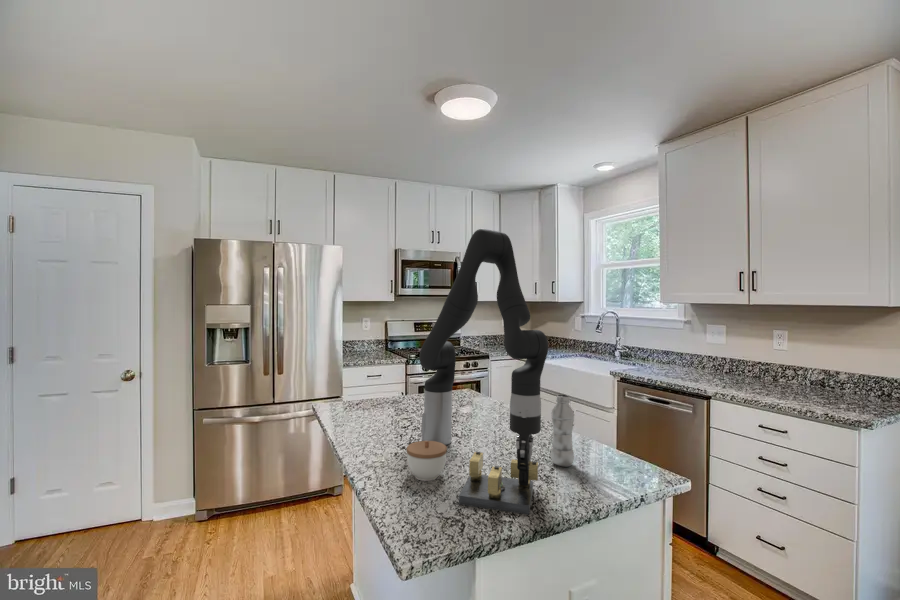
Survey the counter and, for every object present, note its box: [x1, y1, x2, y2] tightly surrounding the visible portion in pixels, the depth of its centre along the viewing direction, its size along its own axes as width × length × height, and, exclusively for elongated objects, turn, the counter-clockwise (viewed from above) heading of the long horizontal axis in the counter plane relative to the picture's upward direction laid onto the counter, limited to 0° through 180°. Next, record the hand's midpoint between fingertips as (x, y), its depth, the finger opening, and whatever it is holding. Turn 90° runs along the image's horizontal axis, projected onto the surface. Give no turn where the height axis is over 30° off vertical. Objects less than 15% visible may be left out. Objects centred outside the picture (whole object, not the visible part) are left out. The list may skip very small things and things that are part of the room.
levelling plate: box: [458, 474, 534, 515], centre depth 101 cm, size 16×13×3 cm
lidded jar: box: [406, 440, 448, 482], centre depth 112 cm, size 11×11×9 cm
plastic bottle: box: [550, 393, 575, 468], centre depth 121 cm, size 6×7×20 cm
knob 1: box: [468, 451, 484, 481], centre depth 106 cm, size 6×3×6 cm, turn 165°
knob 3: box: [510, 458, 539, 487], centre depth 103 cm, size 6×3×6 cm, turn 75°
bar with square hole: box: [488, 465, 503, 498], centre depth 97 cm, size 6×3×6 cm, turn 165°
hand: (524, 481), depth 103 cm, fingers closed on knob 3, 3 cm apart
